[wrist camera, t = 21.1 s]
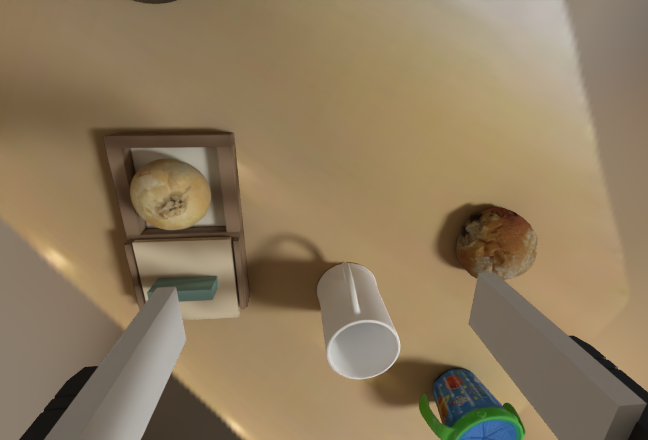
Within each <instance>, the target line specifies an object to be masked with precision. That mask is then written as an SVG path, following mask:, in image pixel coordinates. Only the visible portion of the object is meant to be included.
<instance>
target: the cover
mask: <svg viewBox="0 0 648 440" xmlns="http://www.w3.org/2000/svg"><path fill="white" fill-rule="evenodd" d="M132 245H133V249H134V253H135V258H136V262H137V266H138V270H139V275H140V279H141V283H142V288H143V292H144V296H145V300H146V302H147V300H148V299H149V298H150V296H151V295H152V294H153V292H154V291H155V290H156V288H160V287H176V289H177V294H178V300H179V305H180V310H181V316H182V320H195V319H214V318H233V317H239V315H240V311H239V302H238V293H237V284H236V275H235V266H234V257H233V248H232V239H231V237H209V238H179V239H148V240H135V241H134V242H132Z"/></svg>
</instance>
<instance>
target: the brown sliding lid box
mask: <svg viewBox="0 0 648 440" xmlns="http://www.w3.org/2000/svg"><path fill="white" fill-rule="evenodd" d="M103 140H104V144H105V148H106V152H107V157H108V161H109V165H110V169H111V173H112V178H113V182H114V186H115V190H116V194H117V199H118V203H119V207H120V211H121V215H122V220H123V224H124V228H125V232H126V236H127V241H128V242H127V243H125V244H124V248H125V252H126V256H127V260H128V264H129V268H130V272H131V276H132V280H133V285H134V289H135V293H136V297H137V301H138V305H139V309H140V310H141V308H142V307H143V306H144V304H145V303H146V300H145V296H144V292H143V288H142V283H141V279H140V275H139V270H138V266H137V262H136V258H135V253H134V249H133V245H132V242H134V241H135V240H148V239H179V238H209V237H231V239H232V248H233V257H234V266H235V275H236V284H237V293H238V302H239V308H240V307H241V309H245V308H246V307H247V306H248V302H249V297H250V293H249V283H248V273H247V262H246V252H245V242H244V231H243V221H242V211H241V200H240V190H239V179H238V169H237V159H236V148H235V138H234V133H167V134H112V135H107V136H103ZM157 159H175V160H180V161H182V162H185V163H188V164H190V165H192V166H193V167H195V168H196V169H197V170H199V171H200V172H201V173H202V174H203V176H204V177H205V179H206V180H207V182H208V184H209V187H210V192H211V201H210V205H209V208H208V211H207V213H206V215H205V216H204V217H203V218H202V219H201V220H200V221H198V222H197V223H195V224H194V225H192V226H191V227H189V228H185V229H180V230H164V229H160V228H157V227H155V226H152V225H151V224H149V223H147V222H146V221H145V220H144V219H142V218H141V217H140V215H139V214H138V213H137V212H136V210H135V208H134V206H133V204H132V201H131V196H130V186H131V182H132V179H133V177H134V175H135V174H136V173H137V171H138V170H139V169H140V168H142V167H143V166H144V165H146V164H148V163H149V162H151V161H154V160H157Z"/></svg>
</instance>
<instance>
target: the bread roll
mask: <svg viewBox="0 0 648 440" xmlns="http://www.w3.org/2000/svg"><path fill="white" fill-rule="evenodd" d="M536 249H537V236H536V234H535V232H534V230H533V229H532V227H531V225H530V224H529V223H528V222H527V221H526V220H525V219H524V218H522V217H521V216H519V215H518V214H516V213H515V212H513V211H511V210H507V209H505V208H490V209H486V210H484V211H482V212H480V213H475V214H473V215H471V217H470V219H469V220H468V221H467V222H466V223H465V225H464V226H463V228H462V231H461V233H460V235H459V237H458V241H457V249H456V254H457V259H458V261H459V262H460V264H461V265H462V266H463V267H465V269H466V271H467V272H468V273H469V274H471V275H472V276H473V277H475V278H478V273H496V274H497V275H498V276H499V277H500V278H502V279H503V280H507V279H510V278H513V277H517V276H519V275H522V274H523V273H525V272H526V271H527V270H529V269H530V267H531V266H532V264H533V262H534V260H535V257H536Z"/></svg>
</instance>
